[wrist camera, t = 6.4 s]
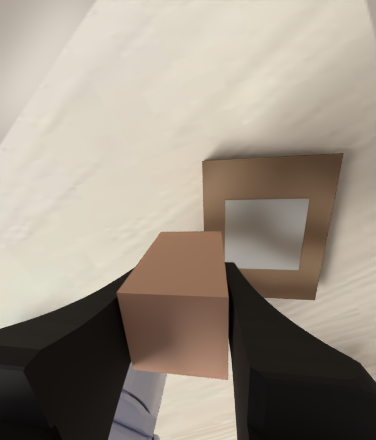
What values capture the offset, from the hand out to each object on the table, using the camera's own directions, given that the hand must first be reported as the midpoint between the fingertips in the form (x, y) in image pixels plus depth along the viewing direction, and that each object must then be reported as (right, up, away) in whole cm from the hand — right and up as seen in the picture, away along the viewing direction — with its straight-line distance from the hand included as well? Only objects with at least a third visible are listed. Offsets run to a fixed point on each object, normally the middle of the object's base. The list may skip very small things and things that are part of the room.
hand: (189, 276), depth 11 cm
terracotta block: (0, +1, +2) cm, 2 cm away
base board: (+7, +2, +8) cm, 11 cm away
